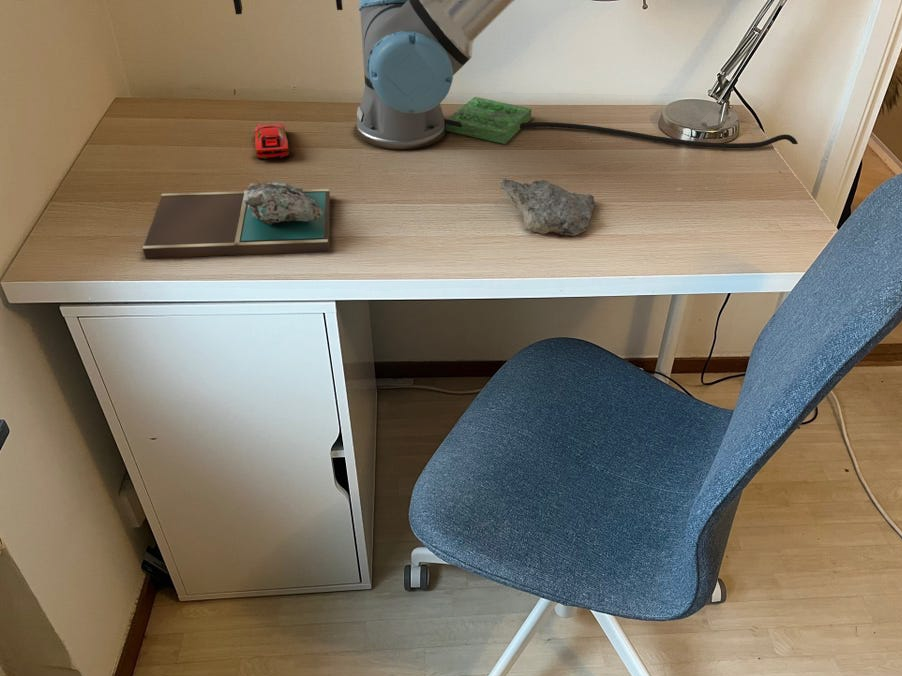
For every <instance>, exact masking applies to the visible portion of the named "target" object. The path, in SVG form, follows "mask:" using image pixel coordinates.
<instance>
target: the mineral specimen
mask: <svg viewBox="0 0 902 676" xmlns="http://www.w3.org/2000/svg"><path fill="white" fill-rule="evenodd" d="M303 190H304V189H303V188H302V187H299V186H296V185H291V184H288V183H287V182H284V183H281V182H277V181H276V182H268V183H266V182H265V183H260V182H251V183H250V184H249V185H248V186H247V189H245V190H243V191H244V195H245V196H244V203H245V204H247V205H248V208H249V209H250V210H251V211H252V212H253V217H255V218H257V219H259V220H260V221H264V223H265V224H273V223H275V222H281V221H292V220H296V221H312V220H315V219H320V218H321V216H322V214H323V212H322V210H321V208H319V206H316V204H315V201H314V200H312V199H310V198H309V197H308V196H306V195H304V194H303Z"/></svg>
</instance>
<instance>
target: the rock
mask: <svg viewBox="0 0 902 676" xmlns="http://www.w3.org/2000/svg"><path fill="white" fill-rule="evenodd" d="M499 184H500V188H501V189H502V190H504V191H505V193H504V196H505V198H507V200H508V202H510V203H511V204H512V205H513V206H514V207H515V208H516V209H517V210H519V212H520V213H521V215H522V217H523V223H524V226H525V227H526V228H527V230H529V231H530V232H534V233H539V234H542V235H544V234H548V233H557V234H559V235H565V236H573V237H574V236H577V235H579V234H581V233H584V232H585V231H587V230H588V228H589V227H590V222H591V219H592V214H593V211H594V209H595V207H596V204H595V200H594V199H595V197H594V196H593V195H592V194H590V193H589V194H586V195H585V194H583V193H576V192H571V191H569V190H565V189H564V188H563V187H560V186H559V185H558V184H557V185H556V184H553V183H551V182H549V181H548V180H545V179H542V180H534V181H532V183H521V182H518V181H515V180H513V179H507V178H503V179H502V180H501V182H500V183H499Z"/></svg>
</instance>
